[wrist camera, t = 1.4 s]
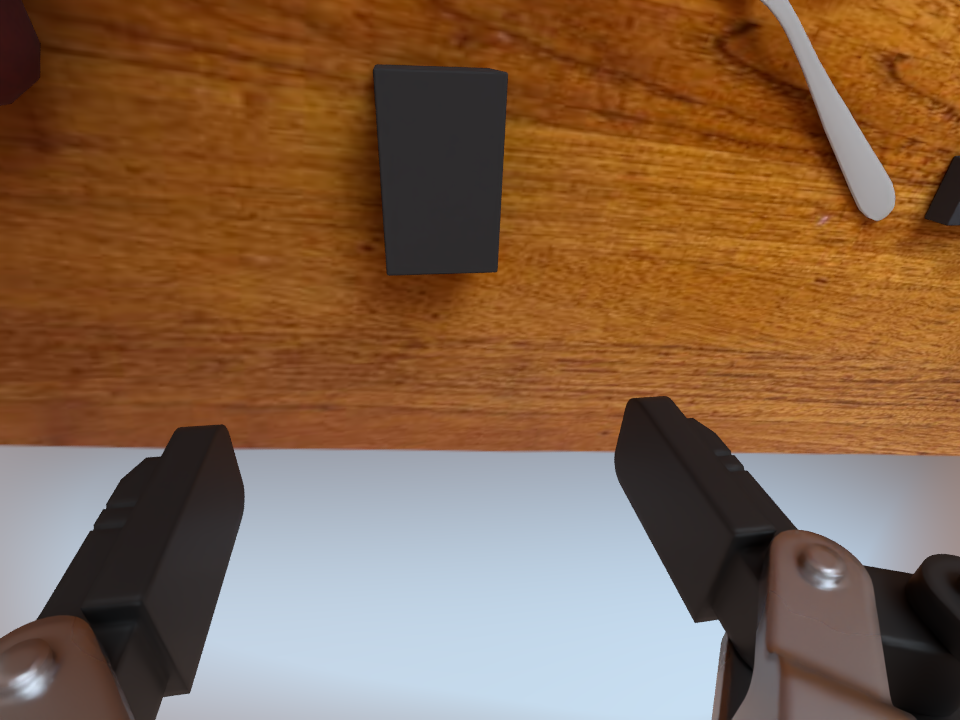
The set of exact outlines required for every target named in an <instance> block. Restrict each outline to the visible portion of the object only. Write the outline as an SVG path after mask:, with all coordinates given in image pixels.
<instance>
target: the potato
mask: <svg viewBox="0 0 960 720" xmlns="http://www.w3.org/2000/svg"><path fill="white" fill-rule="evenodd" d="M39 78H40V41H39V39H38V37H37V35H36V32H35V30H34V28H33V26H32V23H31V21H30V19H29V17H28V14H27V12H26V10H25V8H24V5H23V3H22V1H21V0H0V106H1V105H6V104H12V103H13V102H14V101H15V100H16V99H17V98H18V97H19V96H21V95H22V94H23V93H24V92H25V91H26V90H27V89H29V88H30V87H31V86H32V85H33V84H34V83H35V82H37V80H38V79H39Z"/></svg>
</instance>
